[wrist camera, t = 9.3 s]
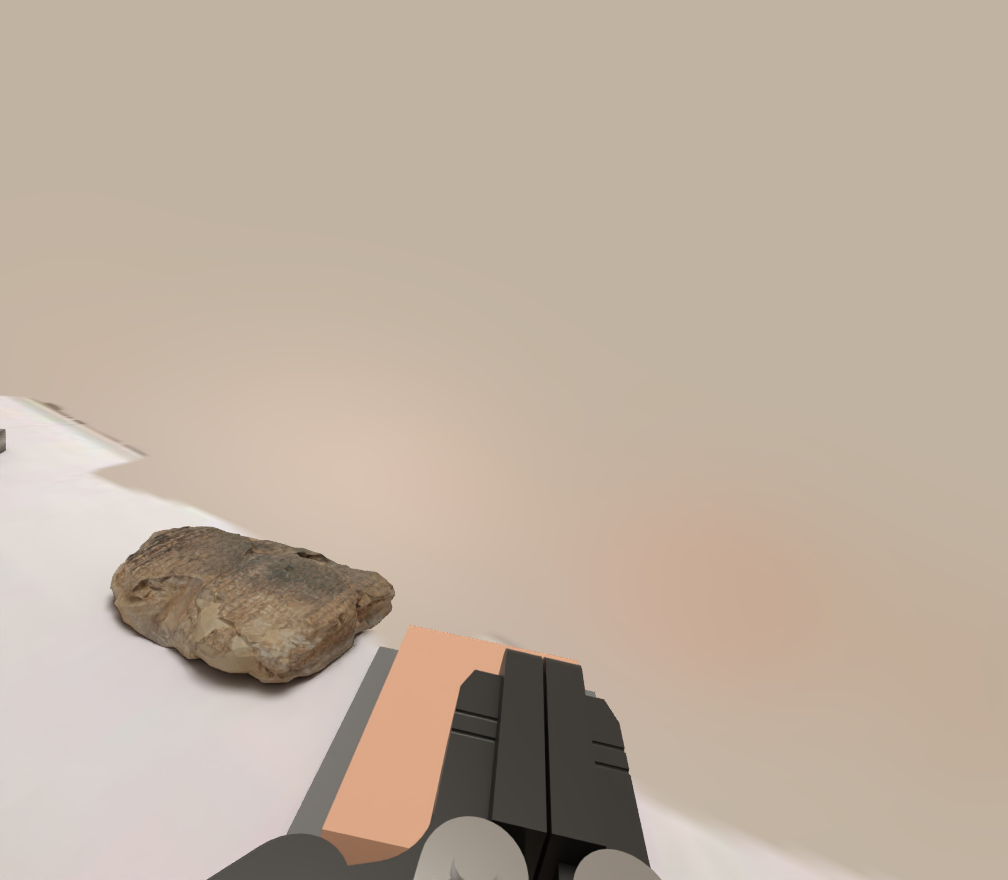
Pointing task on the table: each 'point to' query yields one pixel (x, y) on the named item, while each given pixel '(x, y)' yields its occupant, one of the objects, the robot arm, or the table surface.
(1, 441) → the grey square tray
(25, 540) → the table surface
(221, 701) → the table surface
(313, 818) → the rubber mat
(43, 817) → the table surface
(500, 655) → the terracotta tile
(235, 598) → the clay tablet
